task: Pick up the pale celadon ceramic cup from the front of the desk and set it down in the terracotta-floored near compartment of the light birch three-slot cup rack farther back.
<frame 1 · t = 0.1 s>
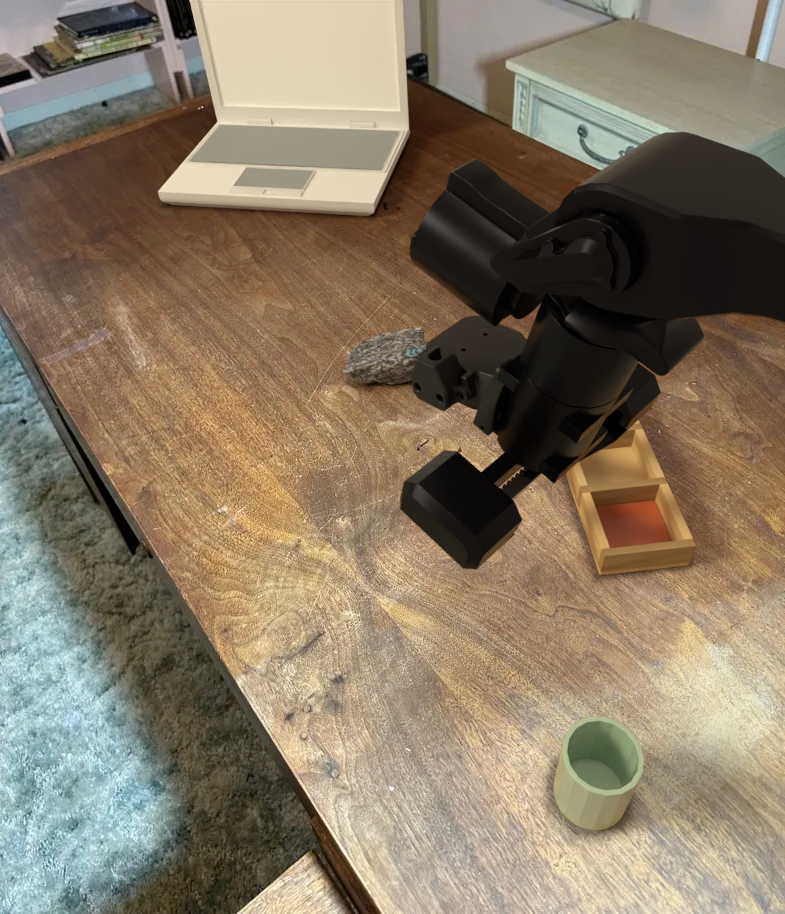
hand: (505, 508, 54), 16 cm above the table, tool pointing down, fingers open, 9 cm apart
rock: (393, 371, 91), on the table
laptop: (291, 173, 127), on the table
rack: (608, 476, 77), on the table
cup: (589, 792, 56), on the table
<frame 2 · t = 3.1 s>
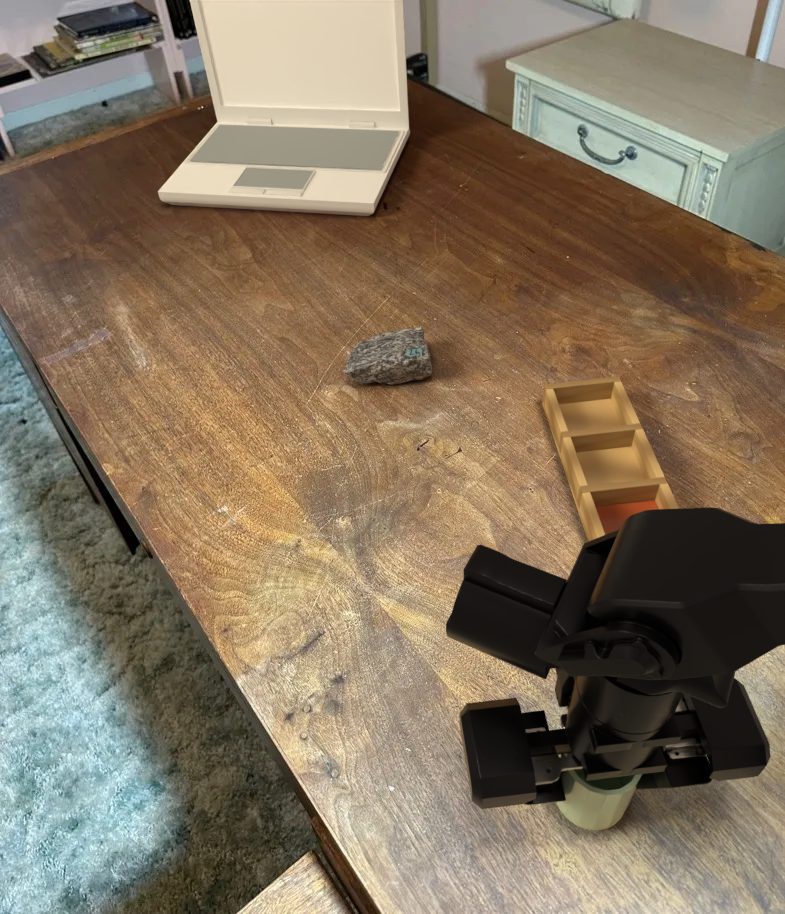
hand: (592, 786, 55), 1 cm above the table, tool pointing down, fingers closed on cup, 5 cm apart
cup: (589, 792, 56), on the table, touching gripper
everything else where it was.
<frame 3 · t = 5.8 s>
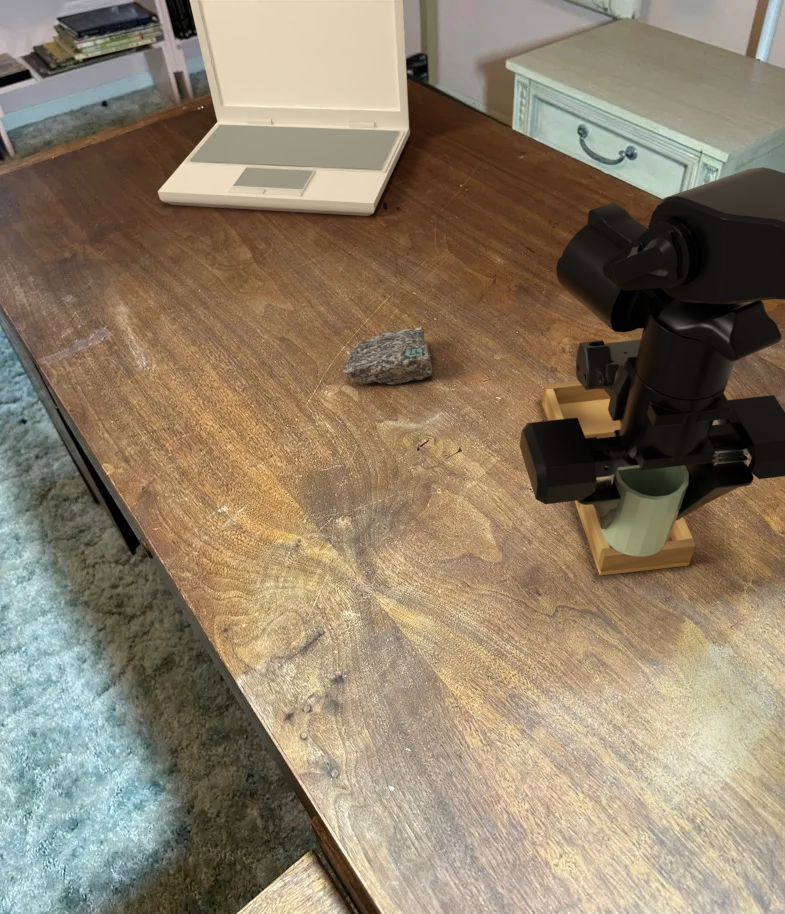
hand: (637, 520, 60), 10 cm above the table, tool pointing down, fingers closed on cup, 5 cm apart
cup: (634, 529, 61), point 9 cm above the table, touching gripper
everything else where it was.
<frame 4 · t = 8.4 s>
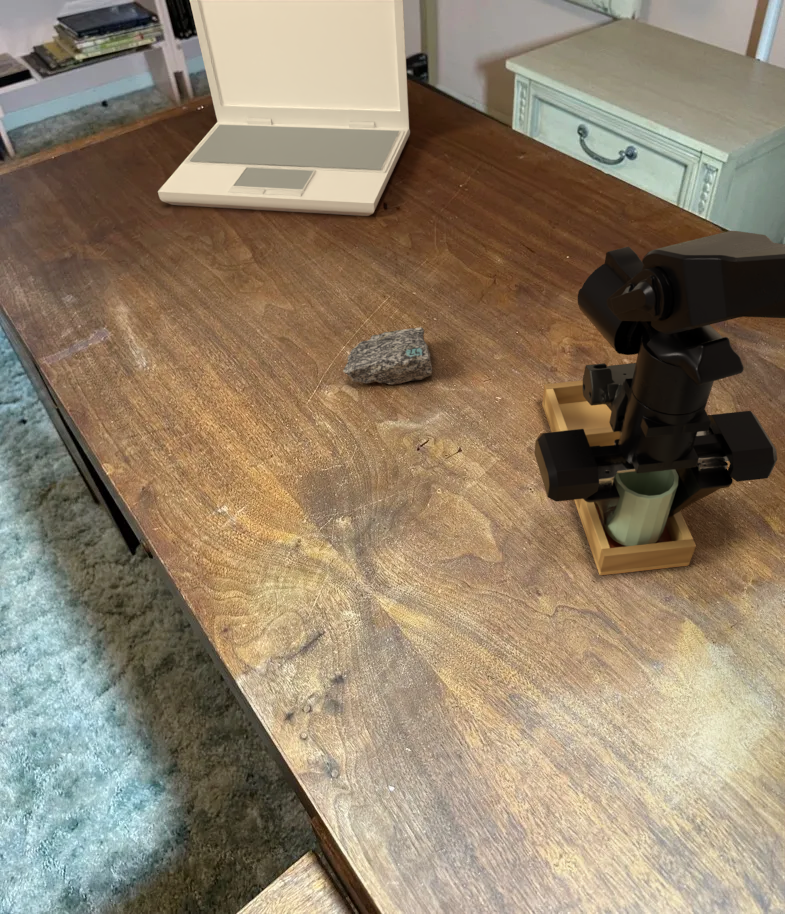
hand: (635, 517, 70), 3 cm above the table, tool pointing down, fingers closed on cup, 5 cm apart
cup: (632, 525, 71), point 1 cm above the table, touching gripper
everything else where it was.
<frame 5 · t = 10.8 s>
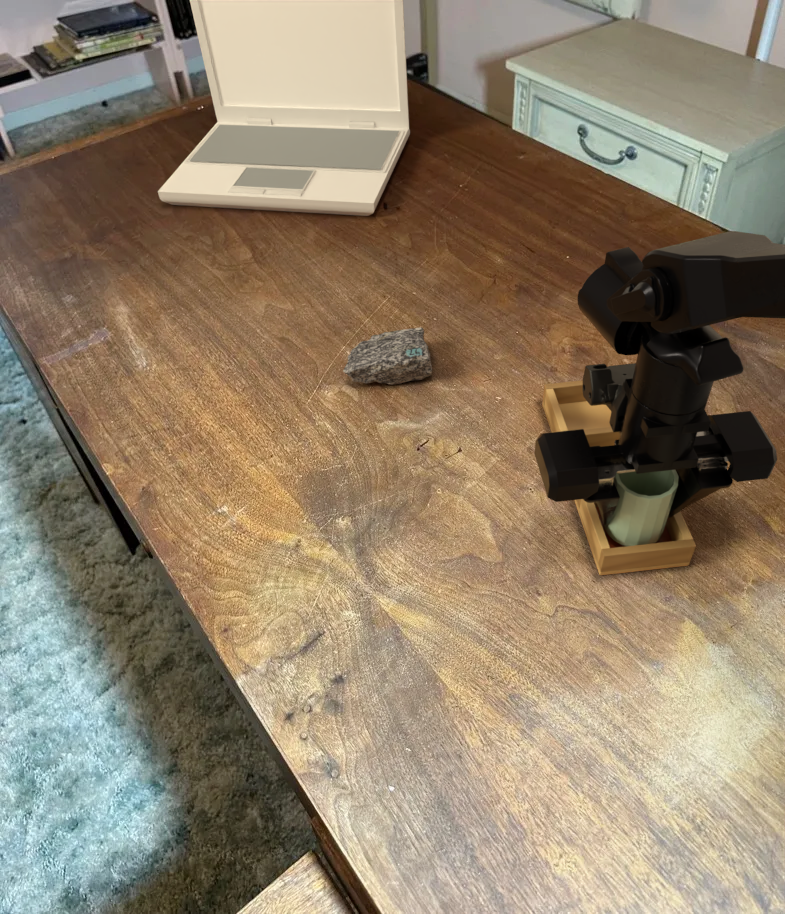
hand: (635, 517, 70), 3 cm above the table, tool pointing down, fingers closed on cup, 5 cm apart
cup: (632, 525, 71), point 1 cm above the table, touching gripper
everything else where it was.
when the fingers open (3 cm above the table, at t = 13.3 s): cup drops 1 cm, resting on rack.
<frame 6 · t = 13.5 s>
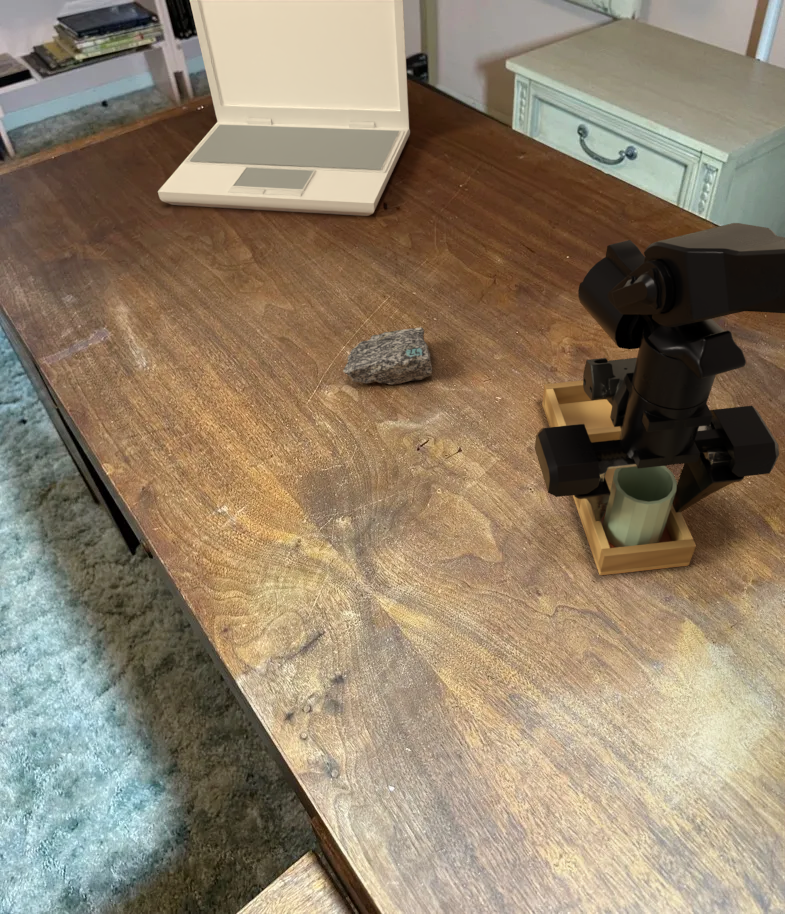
hand: (636, 513, 70), 3 cm above the table, tool pointing down, fingers open, 7 cm apart
cup: (631, 530, 71), point 1 cm above the table, touching rack
everything else where it was.
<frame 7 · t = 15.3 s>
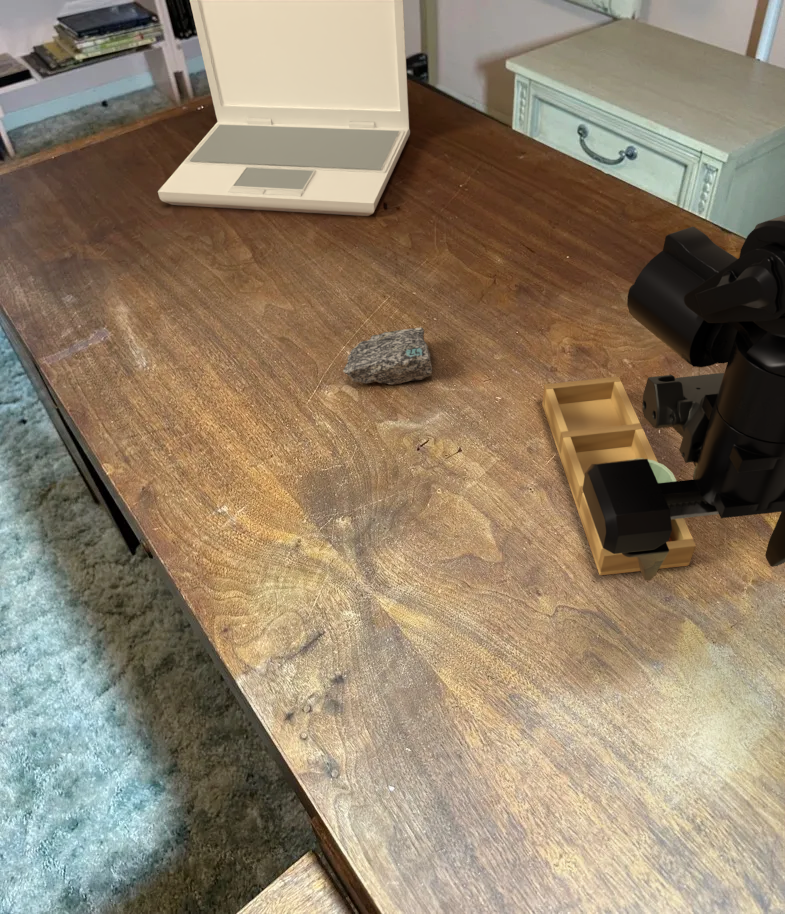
hand: (707, 568, 56), 11 cm above the table, tool pointing down, fingers open, 9 cm apart
nothing on the table moved.
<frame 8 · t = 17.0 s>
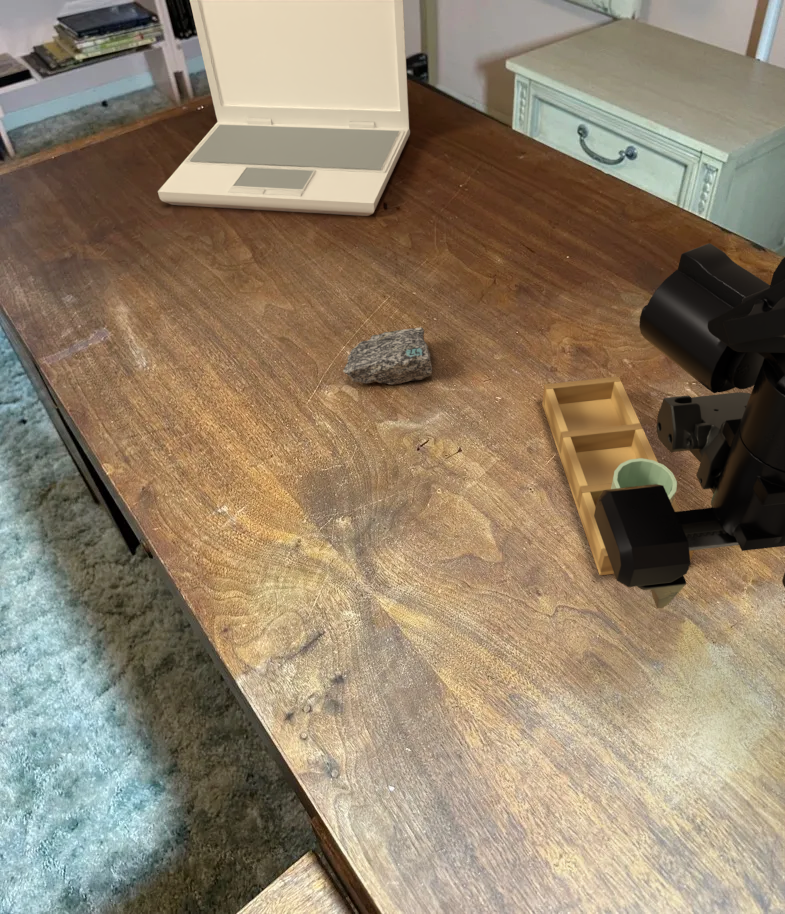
hand: (722, 595, 53), 12 cm above the table, tool pointing down, fingers open, 9 cm apart
nothing on the table moved.
at the end: cup 0.0 cm from the target spot in the rack, point 0.7 cm above the rack's base; cup tilted 0°; the gripper is holding nothing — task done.
